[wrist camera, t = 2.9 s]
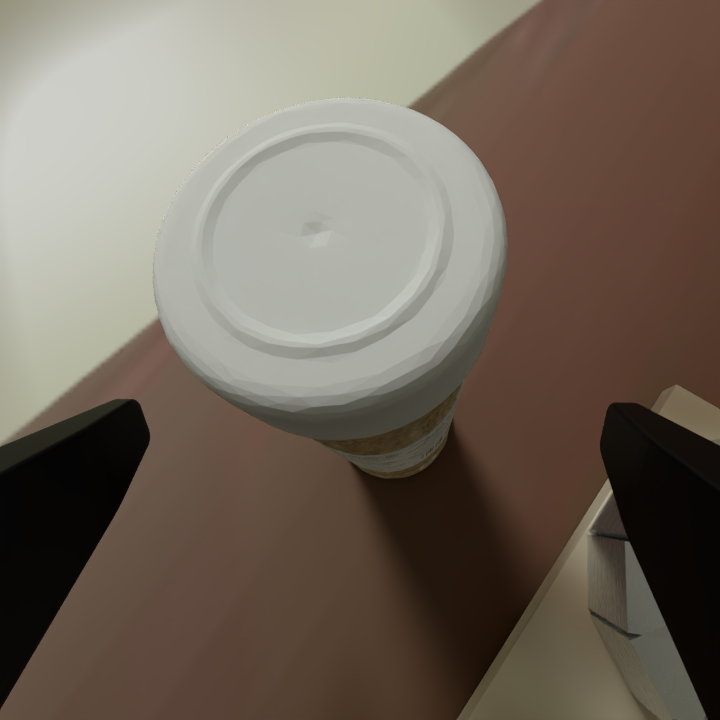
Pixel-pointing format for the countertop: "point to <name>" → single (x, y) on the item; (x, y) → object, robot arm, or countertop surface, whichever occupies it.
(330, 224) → the sprinkles bottle
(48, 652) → the countertop surface
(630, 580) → the steel collar
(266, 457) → the countertop surface
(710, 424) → the birch board
